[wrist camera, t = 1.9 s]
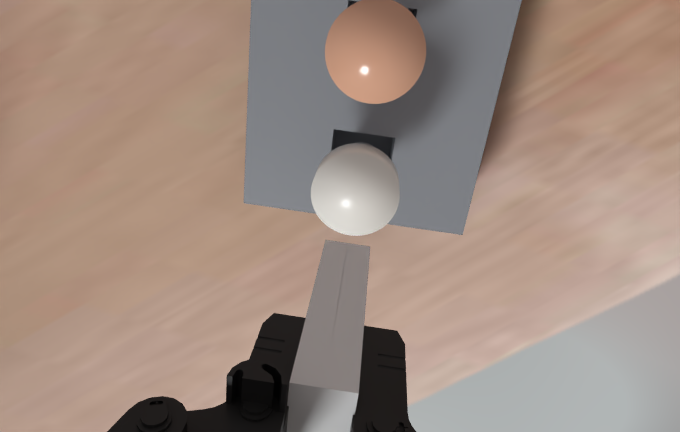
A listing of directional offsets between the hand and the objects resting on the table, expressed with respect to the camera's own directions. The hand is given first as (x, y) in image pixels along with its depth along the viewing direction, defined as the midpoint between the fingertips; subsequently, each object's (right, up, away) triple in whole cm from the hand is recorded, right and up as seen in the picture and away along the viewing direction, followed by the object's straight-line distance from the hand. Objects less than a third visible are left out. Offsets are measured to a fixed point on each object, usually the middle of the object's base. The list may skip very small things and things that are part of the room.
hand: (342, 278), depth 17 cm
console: (+2, +13, +12) cm, 17 cm away
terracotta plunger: (+2, +11, +8) cm, 14 cm away
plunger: (+1, +5, +11) cm, 12 cm away
